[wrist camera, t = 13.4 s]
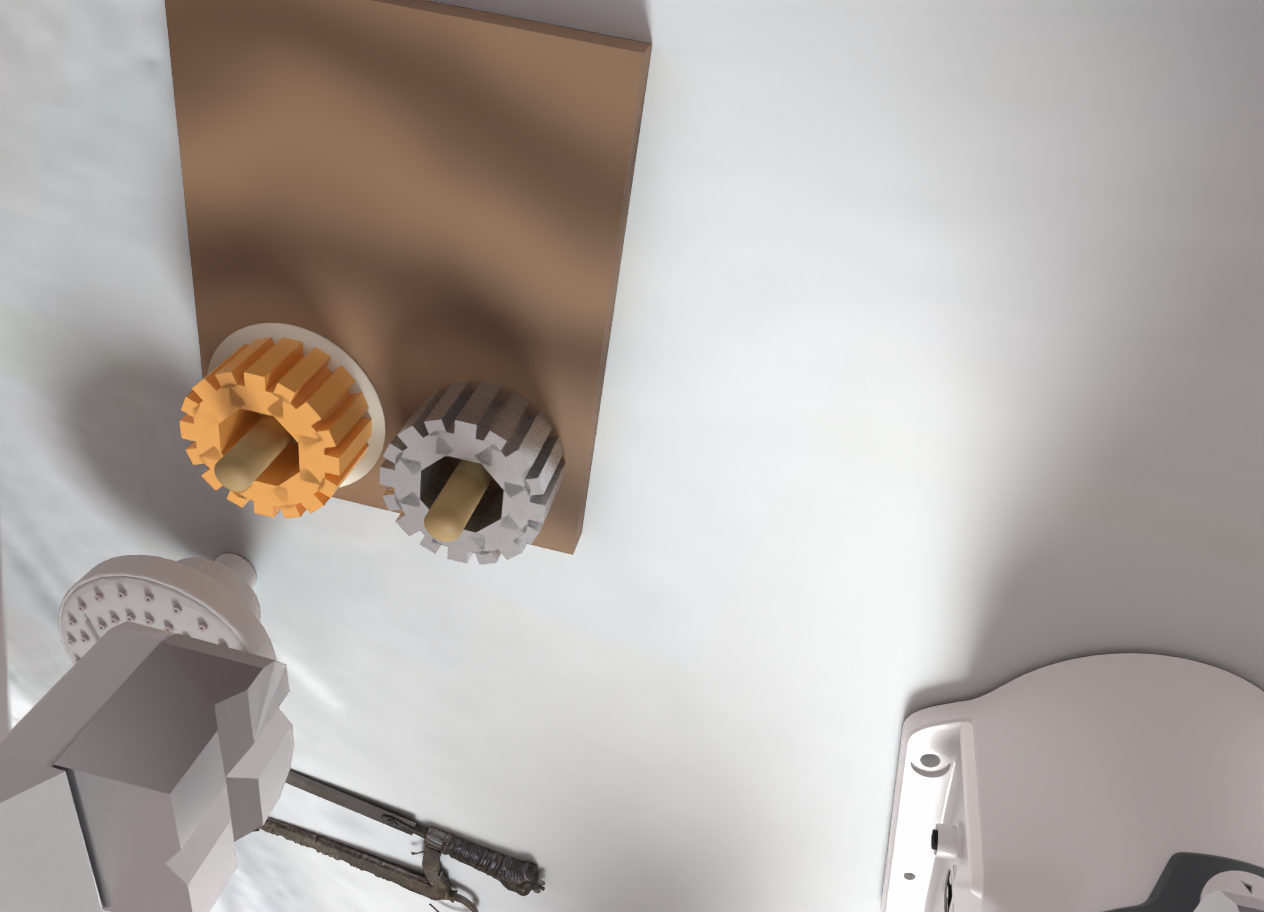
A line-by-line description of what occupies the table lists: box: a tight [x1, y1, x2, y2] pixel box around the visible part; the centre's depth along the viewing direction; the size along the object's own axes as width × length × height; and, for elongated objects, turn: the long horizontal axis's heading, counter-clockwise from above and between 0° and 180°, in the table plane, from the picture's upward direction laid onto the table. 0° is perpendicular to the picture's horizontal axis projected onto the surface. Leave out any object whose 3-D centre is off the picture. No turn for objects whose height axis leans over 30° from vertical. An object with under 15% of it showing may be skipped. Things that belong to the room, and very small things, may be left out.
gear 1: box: [179, 337, 372, 518], centre depth 40 cm, size 6×6×3 cm
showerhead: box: [59, 553, 277, 665], centre depth 46 cm, size 9×7×10 cm
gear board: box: [165, 0, 652, 555], centre depth 37 cm, size 20×16×6 cm
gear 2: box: [380, 381, 565, 564], centre depth 40 cm, size 6×6×3 cm
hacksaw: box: [252, 770, 545, 912], centre depth 59 cm, size 24×10×2 cm, turn 72°
